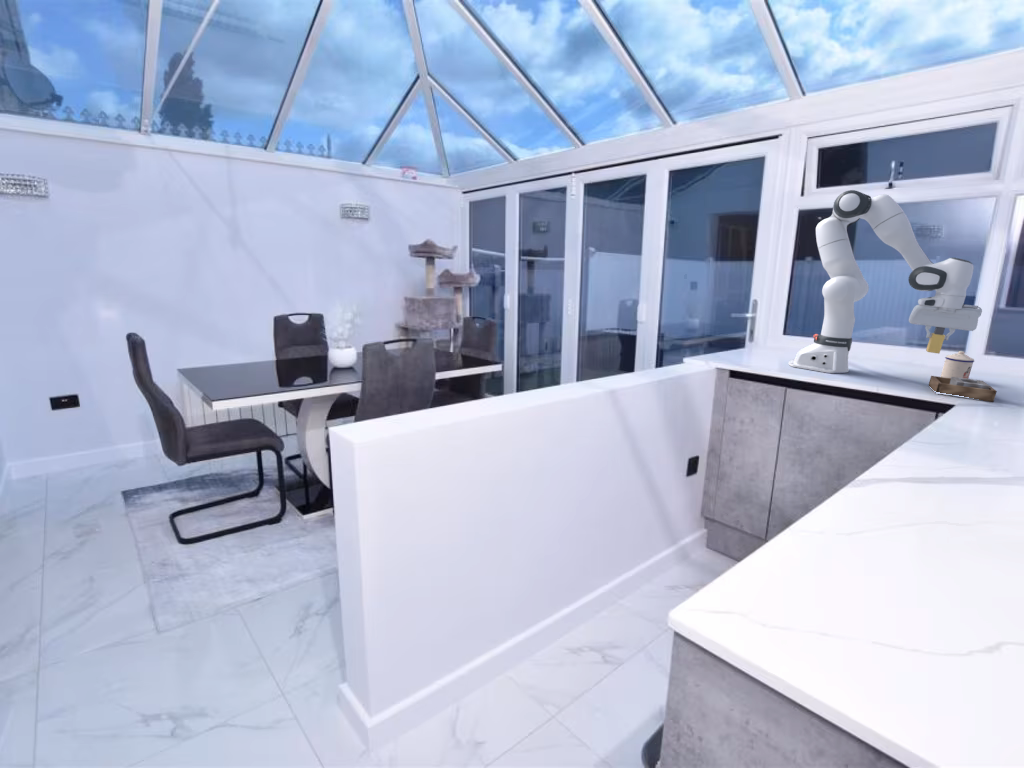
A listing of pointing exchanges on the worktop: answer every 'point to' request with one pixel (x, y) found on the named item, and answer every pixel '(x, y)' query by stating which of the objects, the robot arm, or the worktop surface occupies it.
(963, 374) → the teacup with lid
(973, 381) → the walled box
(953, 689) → the worktop surface
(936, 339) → the connector
